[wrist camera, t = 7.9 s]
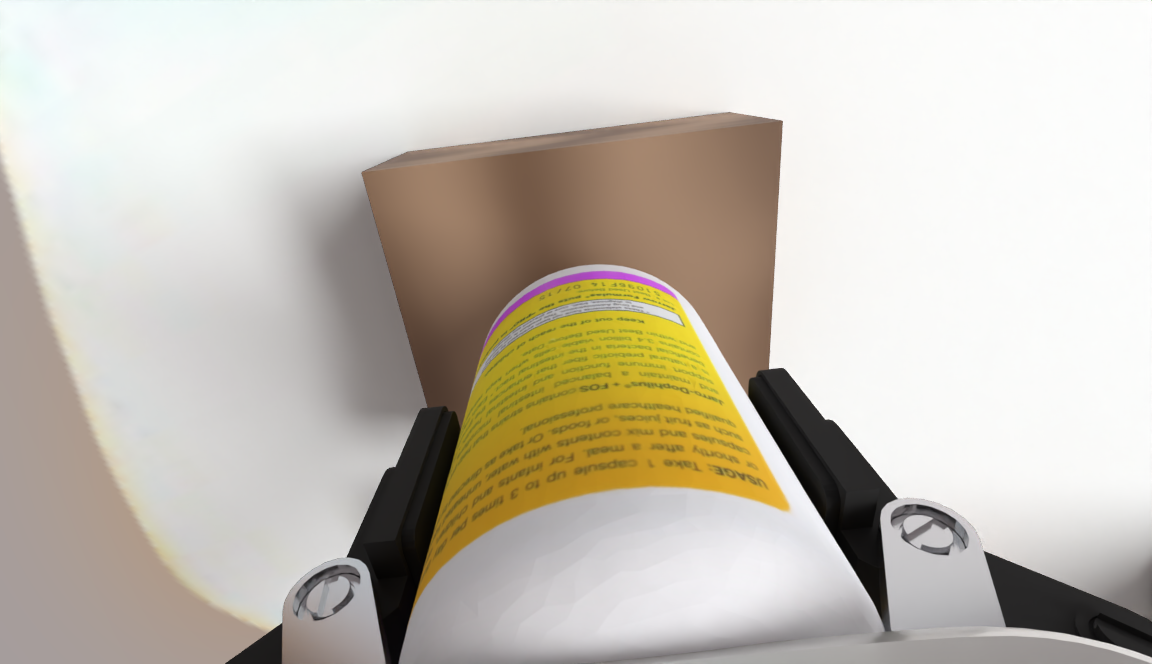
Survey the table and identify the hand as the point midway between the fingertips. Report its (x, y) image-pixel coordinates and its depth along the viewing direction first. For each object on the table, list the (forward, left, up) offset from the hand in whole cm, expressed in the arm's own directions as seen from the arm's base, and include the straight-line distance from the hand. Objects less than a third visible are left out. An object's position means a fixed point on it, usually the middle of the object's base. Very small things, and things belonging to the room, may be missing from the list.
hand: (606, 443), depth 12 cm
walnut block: (0, 0, -11) cm, 11 cm away
